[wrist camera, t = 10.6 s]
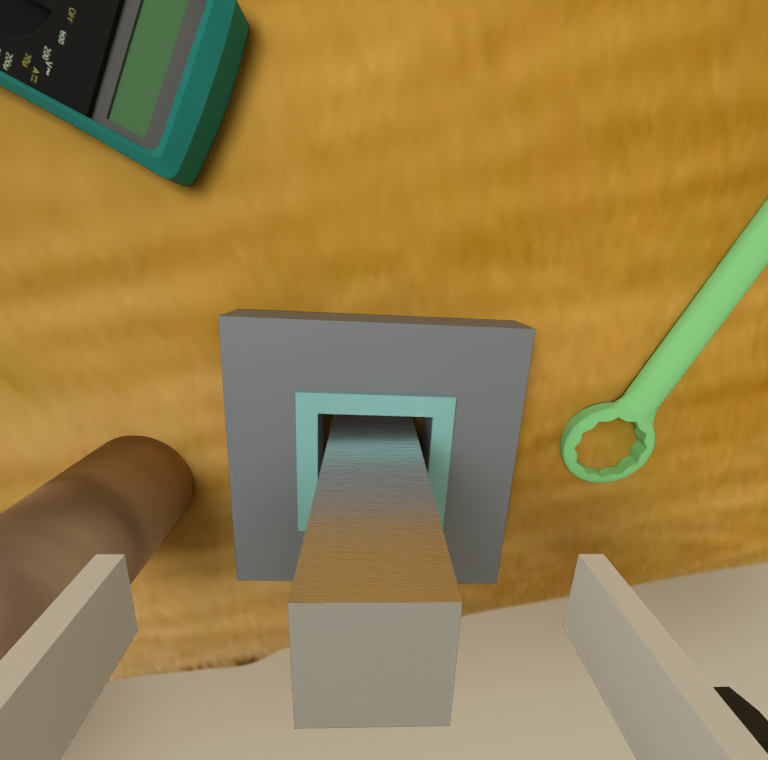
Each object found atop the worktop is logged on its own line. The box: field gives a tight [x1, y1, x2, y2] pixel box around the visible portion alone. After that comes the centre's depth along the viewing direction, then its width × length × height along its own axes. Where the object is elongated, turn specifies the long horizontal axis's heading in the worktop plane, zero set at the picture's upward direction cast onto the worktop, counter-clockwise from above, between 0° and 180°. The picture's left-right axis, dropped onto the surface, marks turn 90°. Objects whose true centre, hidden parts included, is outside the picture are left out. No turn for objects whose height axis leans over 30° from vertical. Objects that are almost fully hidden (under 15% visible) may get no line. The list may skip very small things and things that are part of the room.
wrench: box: [560, 198, 768, 483], centre depth 20 cm, size 25×2×5 cm
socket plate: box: [218, 309, 535, 584], centre depth 21 cm, size 14×14×3 cm
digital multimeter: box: [0, 0, 249, 186], centre depth 15 cm, size 7×15×3 cm, turn 63°
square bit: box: [288, 414, 462, 729], centre depth 16 cm, size 4×4×13 cm
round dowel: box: [0, 436, 194, 660], centre depth 18 cm, size 6×6×10 cm
